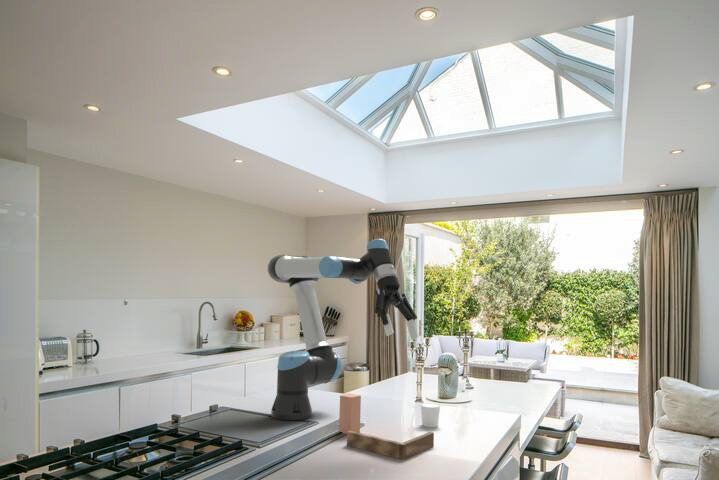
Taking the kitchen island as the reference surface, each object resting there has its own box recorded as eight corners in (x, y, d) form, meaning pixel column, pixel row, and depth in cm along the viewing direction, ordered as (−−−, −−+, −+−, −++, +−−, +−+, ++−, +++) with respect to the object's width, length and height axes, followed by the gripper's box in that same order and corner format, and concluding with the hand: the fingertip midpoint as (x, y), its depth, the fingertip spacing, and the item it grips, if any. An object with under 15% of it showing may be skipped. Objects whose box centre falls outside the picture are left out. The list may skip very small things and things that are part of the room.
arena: (346, 445, 158) (347, 431, 158) (379, 433, 171) (379, 421, 172) (403, 459, 145) (403, 445, 145) (433, 446, 159) (433, 432, 159)
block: (338, 432, 172) (340, 395, 173) (348, 429, 176) (349, 393, 177) (350, 435, 169) (351, 397, 170) (359, 431, 173) (360, 395, 174)
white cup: (439, 428, 180) (439, 407, 181) (419, 426, 181) (419, 406, 182) (440, 423, 187) (440, 403, 187) (421, 422, 188) (421, 402, 189)
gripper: (371, 267, 169) (387, 327, 158) (416, 281, 186) (433, 335, 176) (355, 277, 173) (370, 336, 162) (400, 290, 190) (416, 344, 180)
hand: (403, 336), depth 169 cm, fingers open, 13 cm apart
